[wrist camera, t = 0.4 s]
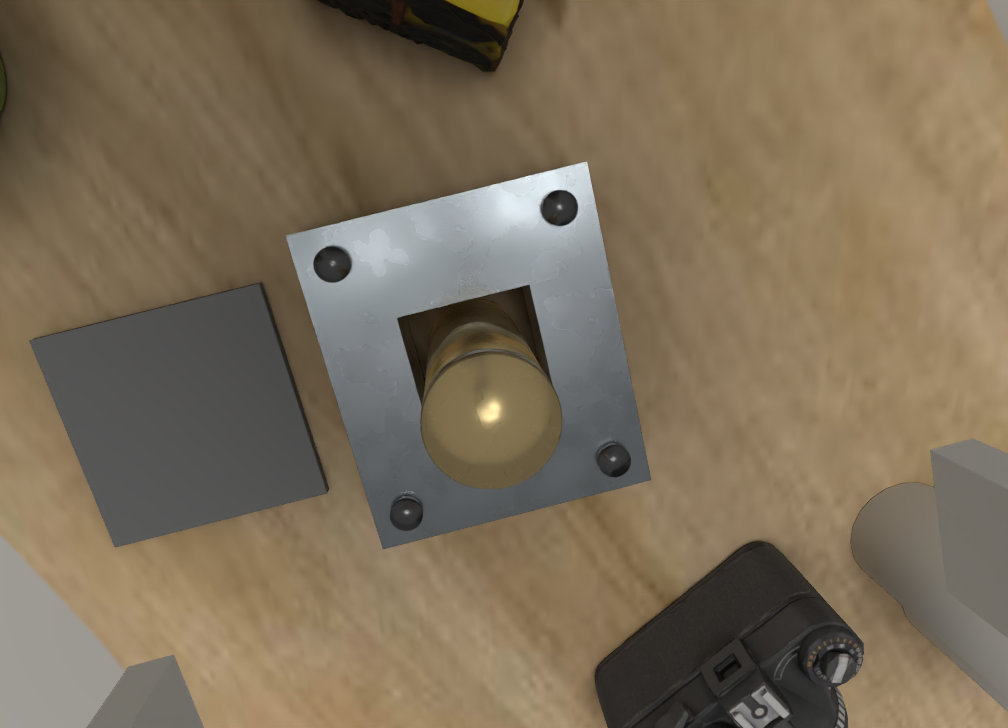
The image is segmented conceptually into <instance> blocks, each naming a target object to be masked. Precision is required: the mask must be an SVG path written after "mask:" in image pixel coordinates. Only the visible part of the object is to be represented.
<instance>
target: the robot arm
mask: <svg viewBox="0 0 1008 728" xmlns="http://www.w3.org/2000/svg"><path fill="white" fill-rule="evenodd" d="M930 453H931V462H932V471H933V479H934V488H935V496H936V505H937V514H938V522H939V531H940V539H941V548H942V557H943V565H944V574H945V582H946V591H947V592H948V593H949V594H951V595H952V596H953V597H954V598H956V599H957V600H958V601H960V602H961V603H962V604H964V605H965V606H966V607H967V608H969V609H970V610H971V611H973V612H974V613H975V614H977V615H978V616H979V617H980V618H982V619H983V620H984V621H986V622H987V623H988V624H990V625H991V626H992V627H994V628H995V629H996V630H997V631H999V632H1000V633H1001V634H1003V635H1004V636H1005V637H1007V638H1008V454H1007V453H1005V452H1003V451H1001V450H998V449H996V448H994V447H991V446H989V445H987V444H985V443H982V442H980V441H978V440H975V439H969V440H965V441H962V442H958V443H954V444H951V445H947V446H943V447H940V448H936V449H932V450H930ZM87 728H204V727H203V724H202V722H201V719H200V717H199V714H198V712H197V710H196V707H195V705H194V702H193V700H192V697H191V695H190V693H189V690H188V688H187V685H186V683H185V680H184V678H183V675H182V673H181V671H180V668H179V666H178V663H177V661H176V658H175V656H174V655H170V656H167V657H163V658H159V659H156V660H152V661H148V662H145V663H141V664H137V665H133V666H130V667H128V668H127V670H126V671H125V673H124V674H123V676H122V677H121V679H120V680H119V681H118V683H117V684H116V686H115V687H114V689H113V690H112V692H111V693H110V695H109V696H108V698H107V699H106V700H105V702H104V703H103V705H102V706H101V708H100V709H99V711H98V712H97V713H96V715H95V716H94V718H93V719H92V721H91V722H90V724H89V725H88V726H87Z"/></svg>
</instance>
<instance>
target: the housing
mask: <svg viewBox="0 0 1008 728" xmlns="http://www.w3.org/2000/svg"><path fill="white" fill-rule="evenodd" d="M286 239H287V242H288V246H289V249H290V252H291V255H292V258H293V262H294V265H295V268H296V271H297V274H298V278H299V281H300V284H301V287H302V290H303V294H304V297H305V300H306V303H307V307H308V310H309V313H310V316H311V319H312V323H313V326H314V329H315V332H316V335H317V339H318V342H319V345H320V348H321V352H322V355H323V358H324V361H325V364H326V368H327V371H328V374H329V377H330V380H331V384H332V387H333V390H334V393H335V397H336V400H337V403H338V406H339V409H340V413H341V416H342V419H343V422H344V425H345V429H346V432H347V435H348V438H349V442H350V445H351V448H352V451H353V454H354V458H355V461H356V464H357V467H358V470H359V474H360V477H361V480H362V483H363V487H364V490H365V493H366V496H367V499H368V503H369V506H370V509H371V512H372V515H373V519H374V522H375V525H376V528H377V531H378V535H379V538H380V541H381V544H382V548H383V549H386V548H390V547H394V546H398V545H402V544H406V543H409V542H413V541H417V540H421V539H425V538H429V537H433V536H437V535H440V534H444V533H448V532H452V531H456V530H460V529H464V528H467V527H471V526H475V525H479V524H483V523H487V522H491V521H495V520H498V519H502V518H506V517H510V516H514V515H518V514H522V513H525V512H529V511H533V510H537V509H541V508H545V507H549V506H553V505H556V504H560V503H564V502H568V501H572V500H576V499H580V498H583V497H587V496H591V495H595V494H599V493H603V492H607V491H611V490H614V489H618V488H622V487H626V486H630V485H634V484H638V483H641V482H645V481H649V480H651V476H650V471H649V466H648V461H647V456H646V452H645V447H644V442H643V437H642V432H641V427H640V422H639V417H638V412H637V407H636V402H635V397H634V392H633V387H632V382H631V377H630V372H629V367H628V362H627V358H626V353H625V348H624V343H623V338H622V333H621V328H620V323H619V318H618V313H617V308H616V303H615V298H614V293H613V288H612V283H611V278H610V273H609V269H608V264H607V259H606V254H605V249H604V244H603V239H602V234H601V229H600V224H599V219H598V214H597V209H596V204H595V199H594V194H593V189H592V184H591V179H590V175H589V170H588V165H587V162H583V163H579V164H575V165H571V166H567V167H563V168H559V169H555V170H551V171H546V172H542V173H538V174H534V175H530V176H526V177H522V178H518V179H514V180H510V181H506V182H502V183H498V184H494V185H490V186H486V187H482V188H478V189H474V190H470V191H465V192H461V193H457V194H453V195H449V196H445V197H441V198H437V199H433V200H429V201H425V202H421V203H417V204H413V205H409V206H405V207H401V208H397V209H393V210H388V211H384V212H380V213H376V214H372V215H368V216H364V217H360V218H356V219H352V220H348V221H344V222H340V223H336V224H332V225H328V226H324V227H320V228H316V229H312V230H307V231H303V232H299V233H296V234H292V235H288V236H286ZM521 286H522V290H523V294H524V299H525V303H526V307H527V311H528V316H529V320H530V324H531V328H532V333H533V337H534V341H535V346H536V350H537V354H538V358H539V363H540V367H541V368H542V370H543V372H544V373H545V374H546V375H547V377H548V379H549V380H550V382H551V383H552V385H553V387H554V389H555V391H556V393H557V395H558V397H559V401H560V404H561V409H562V431H561V435H560V439H559V442H558V445H557V447H556V449H555V451H554V453H553V455H552V456H551V458H550V459H549V460H548V462H547V463H546V464H545V465H544V466H543V467H542V468H541V469H540V470H539V471H538V472H537V473H536V474H534V475H533V476H532V477H530V478H528V479H527V480H525V481H523V482H521V483H519V484H516V485H513V486H510V487H506V488H501V489H479V488H473V487H469V486H466V485H463V484H461V483H459V482H457V481H455V480H453V479H452V478H450V477H448V476H447V475H446V474H445V473H443V472H442V471H441V470H440V469H439V468H438V467H437V466H436V465H435V464H434V462H433V461H432V459H431V458H430V456H429V455H428V453H427V451H426V449H425V446H424V443H423V440H422V436H421V429H420V417H421V407H422V402H423V398H424V390H425V381H424V378H423V374H422V370H421V367H420V363H419V360H418V356H417V352H416V349H415V345H414V341H413V338H412V334H411V331H410V327H409V323H408V320H407V316H406V315H410V314H414V313H418V312H422V311H426V310H430V309H434V308H438V307H442V306H446V305H450V304H454V303H458V302H462V301H466V300H470V299H474V298H478V297H482V296H486V295H489V294H493V293H497V292H501V291H505V290H509V289H513V288H517V287H521Z"/></svg>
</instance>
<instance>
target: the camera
mask: <svg viewBox="0 0 1008 728" xmlns="http://www.w3.org/2000/svg"><path fill="white" fill-rule="evenodd" d="M863 655H864V643H863V642H862V641H861V639H860V638H859V637H858V636H857V635H856V634H855V633H854V631H853V630H852V629H851V628H850V627H849V626H848V625H847V624H846V623H845V622H844V620H843V619H842V618H841V617H840V616H839V615H838V614H837V613H836V612H835V611H834V610H833V609H832V607H831V606H830V605H829V604H828V603H827V602H826V601H825V600H824V599H823V597H822V596H821V595H820V594H819V593H818V592H817V591H816V590H815V588H814V587H813V586H812V585H811V584H810V583H809V582H808V581H807V580H806V579H805V578H804V576H803V575H802V574H801V573H800V572H799V571H798V570H797V569H796V568H795V567H794V565H793V564H792V563H791V562H790V561H789V560H788V559H787V558H786V557H785V556H784V555H783V554H782V553H781V552H780V551H779V550H778V549H776V548H775V547H774V546H772V545H771V544H769V543H764V542H755V543H750V544H748V545H745V546H744V547H743V548H741V549H740V550H738V551H737V552H736V553H734V554H733V555H732V556H731V557H729V558H728V559H727V560H726V561H725V562H723V563H722V564H721V565H720V566H718V567H717V568H716V569H715V570H713V571H712V572H711V573H710V574H709V575H707V576H706V577H705V578H704V579H703V580H701V581H700V582H699V583H698V584H696V585H695V586H694V587H692V588H691V589H690V590H689V591H687V592H686V593H685V594H684V595H683V596H681V597H680V598H679V599H678V600H677V601H675V602H674V603H673V604H672V605H670V606H669V607H668V608H666V609H665V610H664V611H663V612H662V613H660V614H659V615H658V616H657V617H656V618H654V619H653V620H652V621H651V622H650V623H648V624H647V625H646V626H645V627H643V628H642V629H641V630H640V631H639V632H638V633H636V634H635V635H633V636H632V637H631V638H629V639H628V640H627V641H626V642H625V643H624V644H622V645H621V646H620V647H619V648H618V649H616V650H615V651H614V652H613V653H611V654H610V655H609V656H608V657H607V658H606V659H605V660H603V661H602V662H601V663H600V664H599V666H598V667H597V669H596V673H595V684H596V689H597V694H598V698H599V701H600V704H601V707H602V711H603V714H604V717H605V720H606V724H607V727H608V728H848V717H847V712H846V708H845V705H844V702H843V698H842V695H841V693H840V691H839V690H838V688H837V686H839V685H842V684H844V683H846V682H847V681H849V680H850V679H851V678H853V677H854V676H855V675H856V674H857V673H858V671H859V669H860V668H861V666H862V662H863Z"/></svg>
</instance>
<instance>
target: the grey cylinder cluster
mask: <svg viewBox="0 0 1008 728" xmlns="http://www.w3.org/2000/svg"><path fill="white" fill-rule="evenodd" d="M851 547H852V552H853V557H854V558H855V560H856V561H857V563H858V564H859V566H860V568H861V569H862V570H864V571H865V572H866V573H867V574H868V575H869V576H870V577H871V578H873V579H874V580H875V581H876V582H877V583H878V584H879V585H880V586H881V587H883V588H884V589H885V590H886V591H887V592H888V593H889V594H890V595H892V596H893V597H894V598H895V599H896V600H897V601H898V602H899V603H901V604H902V605H903V609H904V613H905V615H906V617H907V618H908V620H909V621H910V623H911V624H912V625H913V626H915V627H916V628H917V629H918V630H919V631H920V632H921V633H922V634H923V635H924V636H925V637H927V638H928V639H929V640H930V641H931V642H932V643H933V644H934V645H935V646H936V647H938V648H939V649H940V650H941V651H942V652H943V653H944V654H945V655H946V656H947V657H948V658H950V659H951V660H952V661H953V662H954V663H955V664H956V665H957V666H958V667H959V668H960V669H962V670H963V671H964V672H965V673H966V674H967V675H968V676H969V677H970V678H971V679H973V680H974V681H975V682H976V683H977V684H978V685H979V686H980V687H981V688H982V689H983V690H985V691H986V692H987V693H988V694H989V695H990V696H991V697H992V698H993V699H994V700H995V701H997V702H998V703H999V704H1000V705H1001V706H1002V707H1003V708H1004V709H1005V710H1006V711H1008V638H1007V637H1005V636H1004V635H1003V634H1001V633H1000V632H999V631H997V630H996V629H995V628H994V627H992V626H991V625H990V624H988V623H987V622H986V621H984V620H983V619H982V618H980V617H979V616H978V615H977V614H975V613H974V612H973V611H971V610H970V609H969V608H967V607H966V606H965V605H964V604H962V603H961V602H960V601H958V600H957V599H956V598H954V597H953V596H952V595H951V594H949V593H948V592H947V591H946V582H945V574H944V565H943V557H942V548H941V539H940V531H939V522H938V514H937V505H936V496H935V488H934V487H931V486H928V485H925V484H921V483H902V484H899V485H896V486H893V487H890V488H887V489H885V490H884V491H882V492H881V493H879V494H878V495H876V496H875V497H873V498H872V499H871V500H870V501H869V502H868V503H867V504H866V505H865V507H864V508H863V509H862V510H861V511H860V513H859V515H858V517H857V519H856V521H855V523H854V525H853V529H852V536H851Z"/></svg>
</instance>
